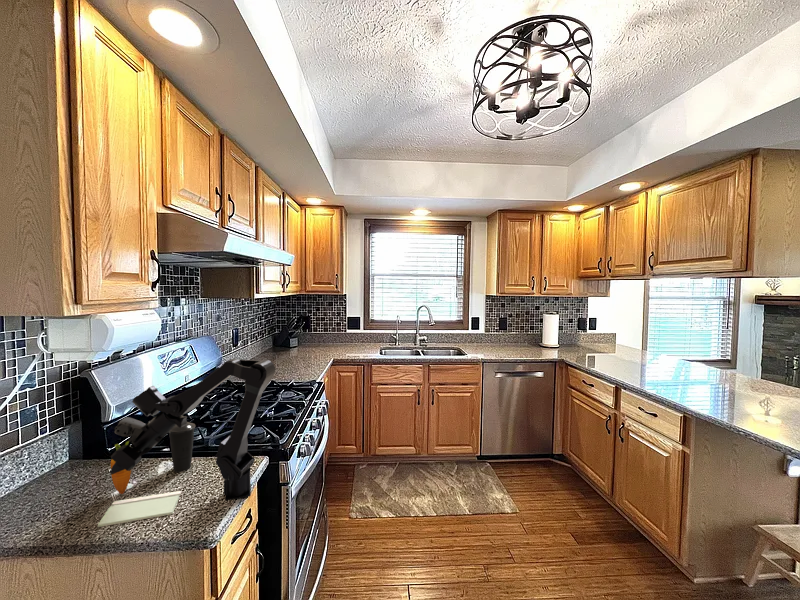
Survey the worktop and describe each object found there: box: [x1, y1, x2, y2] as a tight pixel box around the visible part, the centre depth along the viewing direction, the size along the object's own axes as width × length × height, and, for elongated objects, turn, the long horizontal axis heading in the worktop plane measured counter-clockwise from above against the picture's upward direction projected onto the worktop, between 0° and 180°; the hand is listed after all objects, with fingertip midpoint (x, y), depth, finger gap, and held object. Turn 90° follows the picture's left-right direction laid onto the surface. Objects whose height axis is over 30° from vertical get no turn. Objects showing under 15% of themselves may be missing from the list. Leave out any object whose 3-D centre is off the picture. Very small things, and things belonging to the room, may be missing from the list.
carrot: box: [110, 440, 133, 495], centre depth 105 cm, size 5×5×15 cm
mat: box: [97, 495, 180, 528], centre depth 97 cm, size 16×8×1 cm, turn 110°
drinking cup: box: [168, 414, 196, 473], centre depth 119 cm, size 8×8×20 cm
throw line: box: [111, 490, 182, 506], centre depth 103 cm, size 16×2×1 cm, turn 110°
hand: (115, 468), depth 104 cm, fingers closed on carrot, 5 cm apart
